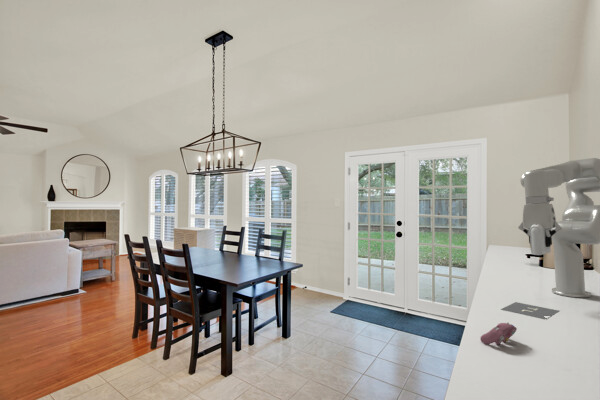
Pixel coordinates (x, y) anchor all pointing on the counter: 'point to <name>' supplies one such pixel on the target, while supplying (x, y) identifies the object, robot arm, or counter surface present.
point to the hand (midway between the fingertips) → (540, 245)
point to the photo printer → (538, 240)
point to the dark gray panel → (530, 310)
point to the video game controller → (499, 334)
